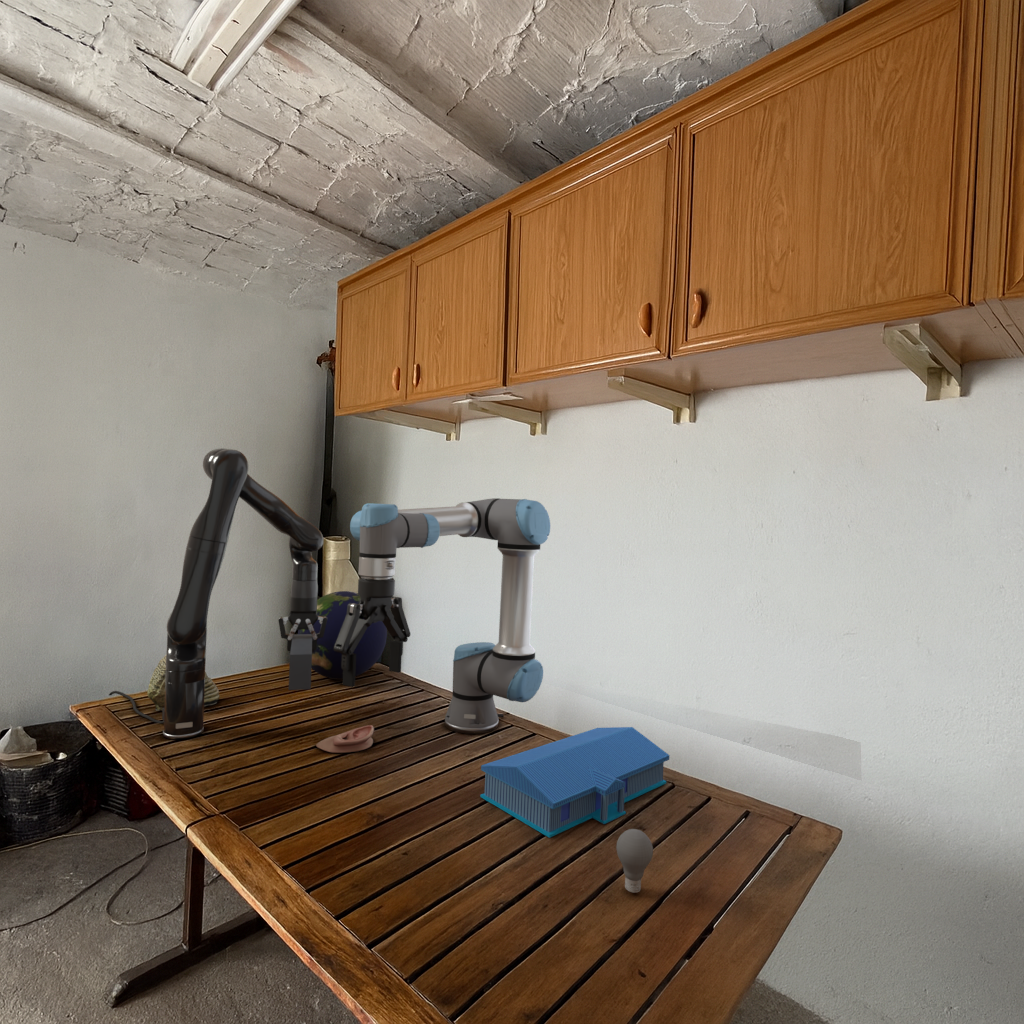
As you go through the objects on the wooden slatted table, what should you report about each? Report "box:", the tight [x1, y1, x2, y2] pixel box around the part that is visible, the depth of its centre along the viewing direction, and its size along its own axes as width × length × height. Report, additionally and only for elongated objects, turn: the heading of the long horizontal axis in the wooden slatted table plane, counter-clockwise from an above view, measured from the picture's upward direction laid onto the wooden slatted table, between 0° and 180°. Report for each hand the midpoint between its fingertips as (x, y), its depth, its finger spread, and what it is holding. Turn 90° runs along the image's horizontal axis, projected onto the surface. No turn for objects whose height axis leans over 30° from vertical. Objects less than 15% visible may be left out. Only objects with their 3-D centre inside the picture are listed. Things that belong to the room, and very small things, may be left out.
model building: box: [479, 726, 670, 839], centre depth 141 cm, size 39×24×10 cm, turn 132°
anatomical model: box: [316, 724, 375, 754], centre depth 162 cm, size 13×4×12 cm
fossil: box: [147, 654, 221, 712], centre depth 185 cm, size 9×18×15 cm, turn 132°
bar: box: [288, 633, 312, 691], centre depth 178 cm, size 25×6×9 cm, turn 17°
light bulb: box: [615, 828, 654, 894], centre depth 106 cm, size 6×6×10 cm
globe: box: [297, 590, 388, 680], centre depth 220 cm, size 30×30×30 cm
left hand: (301, 651), depth 186 cm, fingers closed on bar, 5 cm apart
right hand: (372, 678), depth 133 cm, fingers open, 13 cm apart
